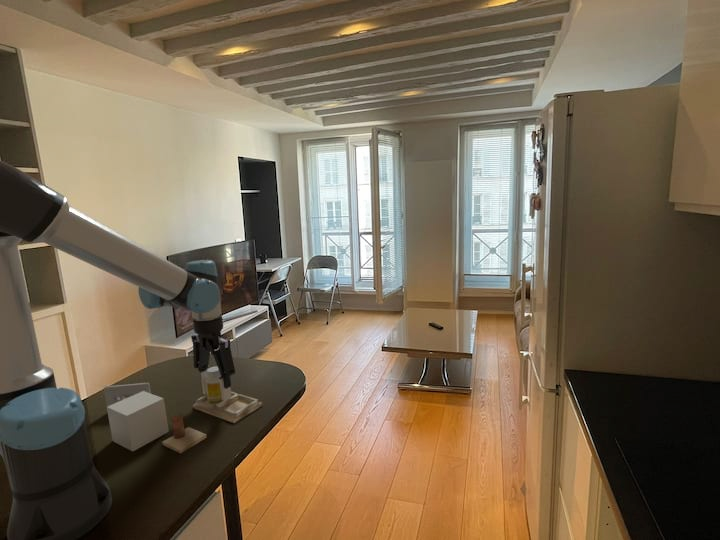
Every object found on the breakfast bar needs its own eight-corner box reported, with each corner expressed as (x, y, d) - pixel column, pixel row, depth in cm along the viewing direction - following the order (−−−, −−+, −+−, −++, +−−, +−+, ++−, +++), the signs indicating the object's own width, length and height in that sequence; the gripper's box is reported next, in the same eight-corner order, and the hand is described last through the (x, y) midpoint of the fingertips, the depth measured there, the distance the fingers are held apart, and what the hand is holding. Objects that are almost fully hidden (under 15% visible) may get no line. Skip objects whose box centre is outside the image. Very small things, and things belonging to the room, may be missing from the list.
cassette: (154, 406, 113) (150, 381, 112) (151, 410, 111) (147, 384, 110) (110, 410, 112) (105, 385, 111) (106, 414, 110) (102, 388, 109)
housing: (132, 451, 92) (126, 415, 91) (112, 441, 97) (106, 406, 95) (168, 431, 100) (163, 398, 98) (148, 422, 104) (143, 390, 103)
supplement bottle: (205, 400, 113) (201, 369, 111) (224, 394, 116) (220, 363, 115) (212, 407, 109) (207, 374, 107) (231, 400, 112) (227, 368, 110)
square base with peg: (180, 453, 90) (177, 430, 89) (162, 445, 94) (159, 422, 93) (206, 437, 96) (203, 415, 95) (189, 430, 100) (186, 408, 99)
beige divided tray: (234, 423, 102) (233, 416, 101) (193, 408, 111) (192, 401, 111) (262, 405, 110) (262, 398, 110) (222, 392, 119) (221, 386, 119)
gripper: (243, 317, 106) (252, 396, 110) (196, 309, 117) (205, 382, 121) (220, 325, 100) (230, 409, 104) (172, 316, 111) (183, 393, 114)
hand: (217, 394), depth 112 cm, fingers open, 7 cm apart
